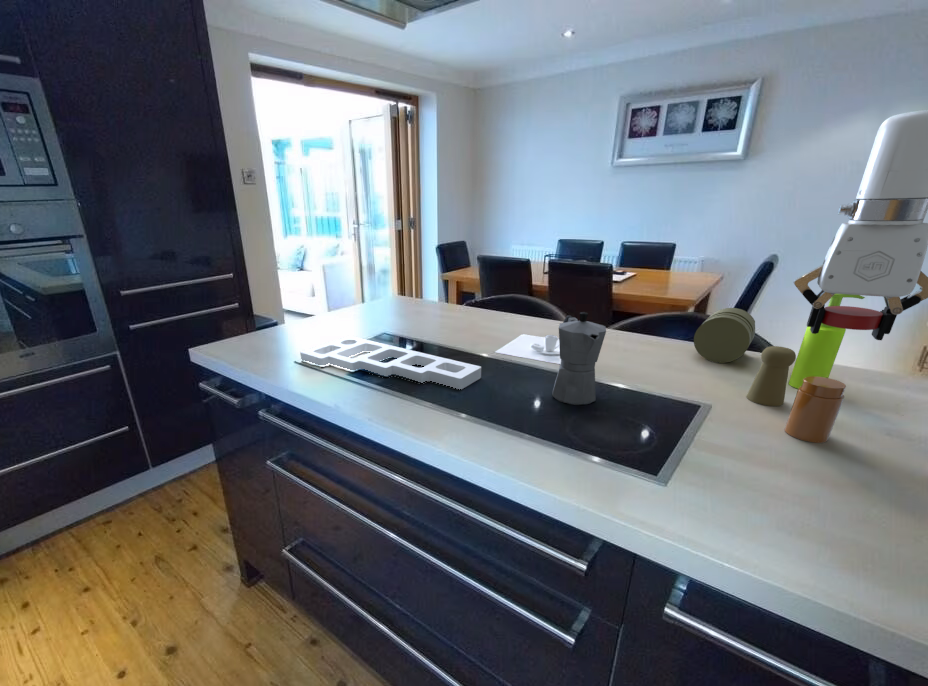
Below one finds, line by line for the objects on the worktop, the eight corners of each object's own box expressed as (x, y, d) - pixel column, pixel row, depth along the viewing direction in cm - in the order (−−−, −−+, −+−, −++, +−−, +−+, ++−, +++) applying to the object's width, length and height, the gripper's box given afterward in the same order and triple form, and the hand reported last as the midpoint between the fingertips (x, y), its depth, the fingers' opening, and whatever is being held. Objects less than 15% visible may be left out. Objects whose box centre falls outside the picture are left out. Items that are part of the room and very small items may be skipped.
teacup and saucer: (527, 352, 119) (528, 337, 117) (537, 344, 125) (539, 330, 123) (559, 357, 114) (561, 342, 113) (568, 349, 120) (570, 335, 119)
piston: (749, 354, 113) (762, 311, 109) (742, 367, 105) (755, 321, 101) (699, 345, 120) (709, 305, 116) (689, 357, 112) (699, 314, 108)
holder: (481, 377, 103) (482, 366, 102) (436, 404, 91) (435, 392, 90) (350, 344, 130) (349, 335, 129) (300, 361, 117) (299, 352, 116)
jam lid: (821, 326, 68) (826, 313, 67) (816, 316, 73) (820, 304, 72) (882, 332, 64) (888, 318, 63) (872, 321, 69) (877, 308, 68)
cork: (788, 407, 85) (806, 354, 81) (751, 403, 87) (767, 351, 83) (777, 395, 90) (793, 344, 86) (742, 392, 92) (757, 342, 88)
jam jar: (821, 429, 77) (840, 378, 73) (833, 445, 72) (855, 391, 69) (780, 424, 79) (797, 373, 76) (789, 439, 75) (808, 386, 71)
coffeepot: (609, 408, 87) (624, 319, 80) (562, 410, 86) (572, 321, 79) (579, 379, 101) (589, 301, 94) (538, 381, 101) (545, 303, 94)
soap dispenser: (835, 393, 90) (872, 296, 83) (795, 390, 92) (827, 295, 85) (822, 383, 95) (855, 290, 88) (783, 379, 98) (813, 289, 90)
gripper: (810, 214, 64) (775, 333, 71) (992, 212, 54) (931, 349, 61) (805, 212, 69) (773, 322, 76) (969, 210, 60) (916, 336, 67)
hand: (844, 333), depth 69 cm, fingers closed on jam lid, 6 cm apart
